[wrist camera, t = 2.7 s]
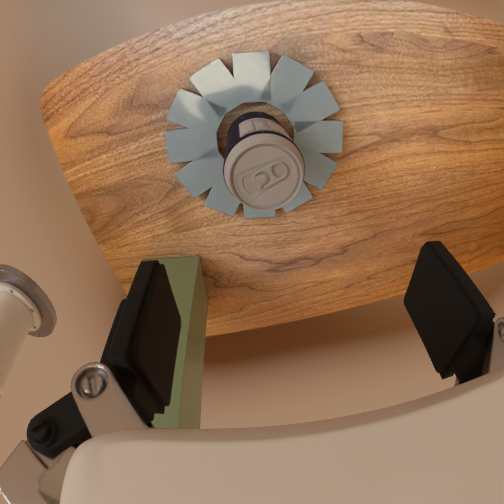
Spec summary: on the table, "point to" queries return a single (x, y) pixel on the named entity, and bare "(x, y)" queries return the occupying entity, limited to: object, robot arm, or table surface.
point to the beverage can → (262, 163)
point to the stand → (186, 343)
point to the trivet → (246, 91)
